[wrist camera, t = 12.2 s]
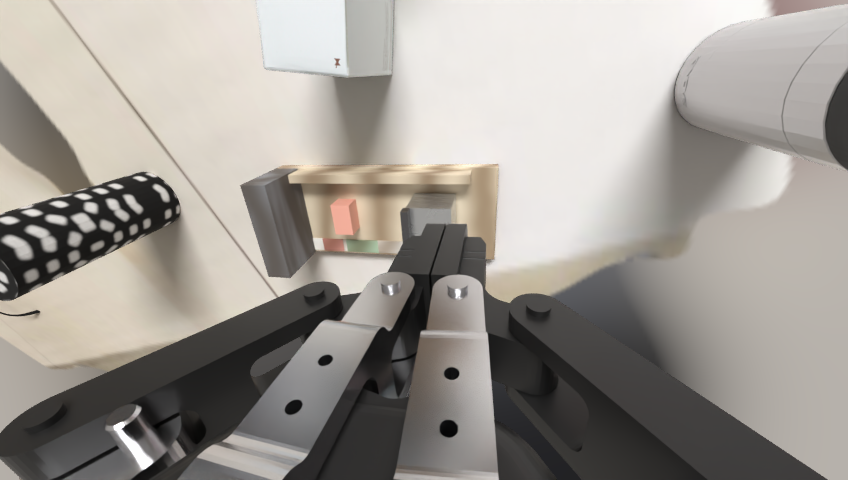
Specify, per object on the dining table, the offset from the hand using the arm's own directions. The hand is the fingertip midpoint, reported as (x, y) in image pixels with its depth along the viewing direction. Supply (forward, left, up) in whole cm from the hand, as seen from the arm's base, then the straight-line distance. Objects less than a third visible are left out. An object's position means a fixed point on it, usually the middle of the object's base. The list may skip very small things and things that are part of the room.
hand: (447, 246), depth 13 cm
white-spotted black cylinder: (+49, +9, -29) cm, 57 cm away
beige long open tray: (+12, +10, -29) cm, 33 cm away
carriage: (+5, +10, -27) cm, 29 cm away
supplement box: (+13, -10, -29) cm, 33 cm away
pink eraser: (+17, +10, -27) cm, 34 cm away
